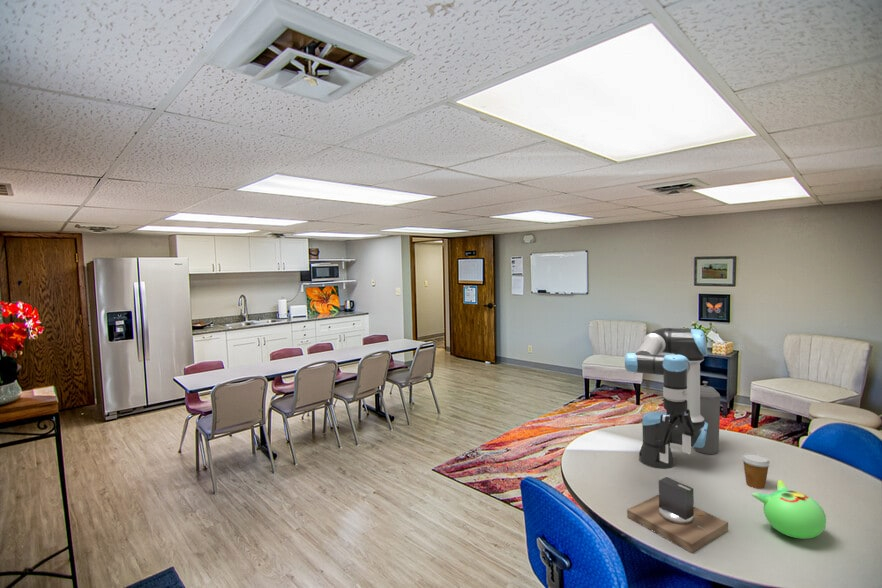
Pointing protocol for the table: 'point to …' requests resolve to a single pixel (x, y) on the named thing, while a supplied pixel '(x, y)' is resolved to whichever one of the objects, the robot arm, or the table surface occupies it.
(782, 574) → the table surface
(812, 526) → the toy bird
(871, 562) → the table surface
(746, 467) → the disposable coffee cup
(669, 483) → the dial
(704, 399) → the canister
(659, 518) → the dial panel
